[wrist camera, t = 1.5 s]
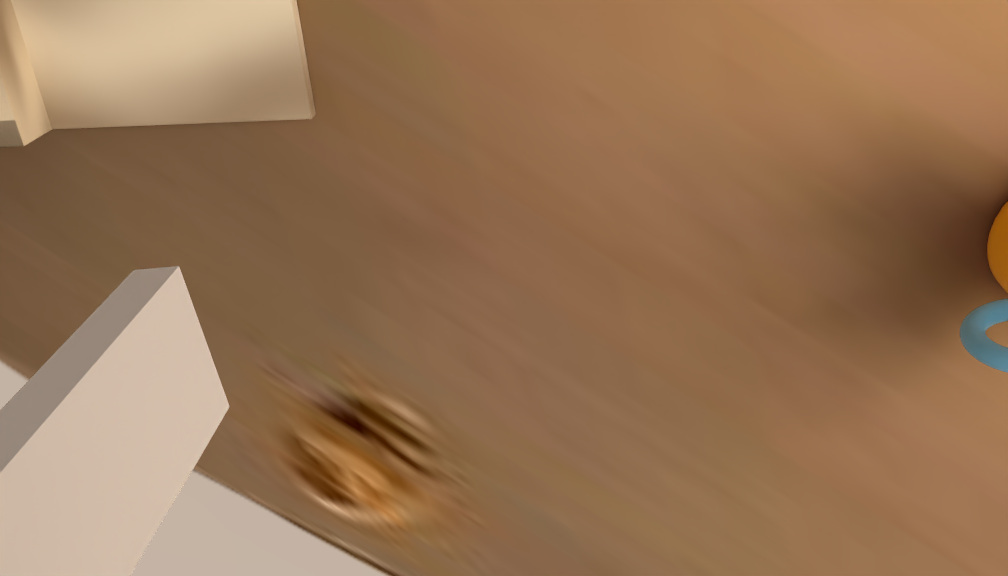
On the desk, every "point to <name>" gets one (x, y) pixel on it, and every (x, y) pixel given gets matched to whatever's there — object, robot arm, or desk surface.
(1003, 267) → the cylinder
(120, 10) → the cradle
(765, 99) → the desk surface
